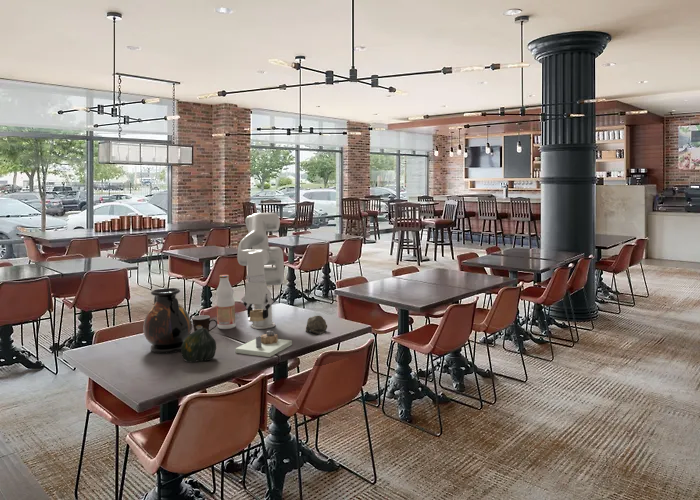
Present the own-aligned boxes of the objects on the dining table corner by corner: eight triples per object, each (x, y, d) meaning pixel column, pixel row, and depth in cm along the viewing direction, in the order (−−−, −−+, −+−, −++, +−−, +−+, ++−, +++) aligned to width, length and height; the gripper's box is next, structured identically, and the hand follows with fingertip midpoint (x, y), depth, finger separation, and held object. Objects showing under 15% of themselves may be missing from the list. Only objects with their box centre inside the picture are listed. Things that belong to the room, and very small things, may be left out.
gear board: (235, 352, 255) (234, 337, 254) (259, 340, 273) (259, 326, 272) (269, 357, 247) (268, 341, 247) (292, 344, 266) (291, 329, 265)
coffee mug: (189, 338, 280) (188, 318, 279) (201, 333, 288) (200, 314, 286) (207, 340, 275) (206, 320, 273) (219, 336, 282) (218, 316, 281)
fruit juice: (222, 330, 293) (220, 277, 290) (214, 327, 300) (211, 275, 297) (238, 327, 299) (236, 275, 296) (230, 323, 306) (228, 273, 303)
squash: (170, 348, 244) (184, 326, 238) (197, 341, 257) (211, 320, 250) (187, 374, 239) (202, 352, 233) (213, 365, 252) (228, 344, 245)
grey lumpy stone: (317, 335, 279) (309, 316, 281) (306, 340, 285) (298, 322, 286) (331, 329, 288) (323, 311, 289) (320, 335, 293) (312, 317, 295)
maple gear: (246, 320, 253) (246, 311, 252) (255, 316, 259) (255, 308, 258) (260, 321, 250) (260, 313, 249) (269, 318, 256) (268, 309, 256)
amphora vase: (202, 347, 263) (198, 289, 260) (160, 359, 247) (156, 297, 244) (177, 339, 278) (173, 284, 274) (136, 350, 262) (131, 291, 258)
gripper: (235, 279, 252) (237, 317, 254) (268, 281, 245) (270, 320, 247) (244, 276, 259) (246, 314, 261) (277, 278, 252) (278, 316, 254)
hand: (257, 317), depth 254 cm, fingers closed on maple gear, 7 cm apart
